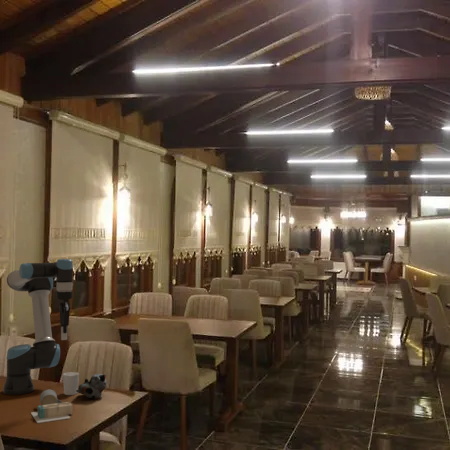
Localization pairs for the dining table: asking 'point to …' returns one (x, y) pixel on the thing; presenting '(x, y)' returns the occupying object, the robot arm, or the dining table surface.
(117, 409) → the dining table surface
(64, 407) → the beige long block
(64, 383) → the white cup
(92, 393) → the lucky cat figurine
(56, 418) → the grey mat
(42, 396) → the ceramic mug
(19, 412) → the dining table surface
